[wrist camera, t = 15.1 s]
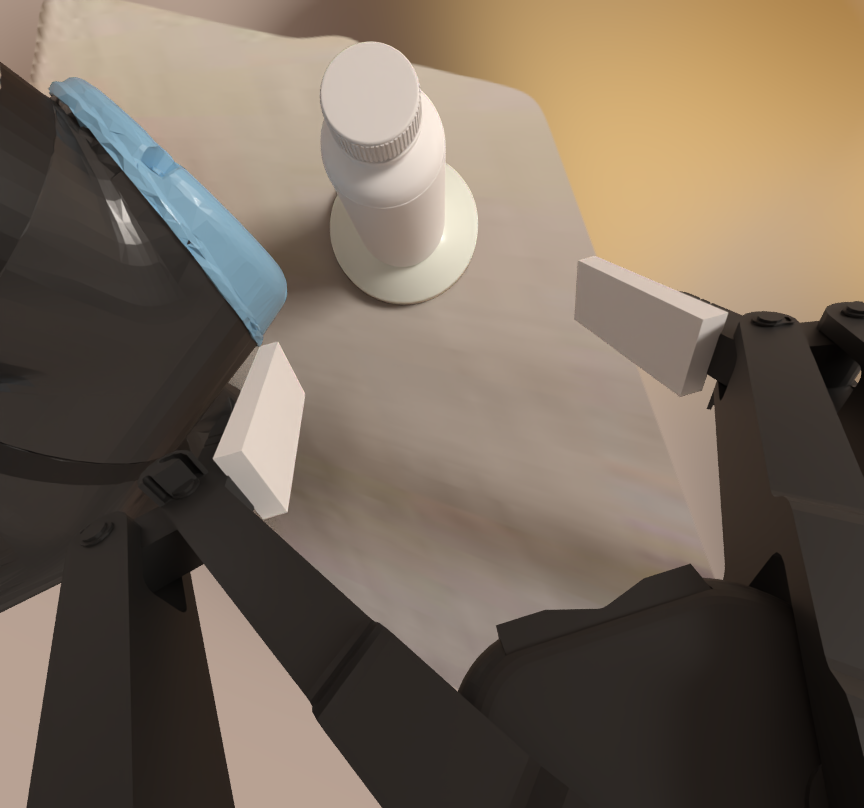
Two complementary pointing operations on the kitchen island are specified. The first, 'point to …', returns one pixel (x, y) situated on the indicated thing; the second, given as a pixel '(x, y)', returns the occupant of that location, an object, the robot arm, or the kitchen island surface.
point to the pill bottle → (384, 152)
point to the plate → (424, 276)
